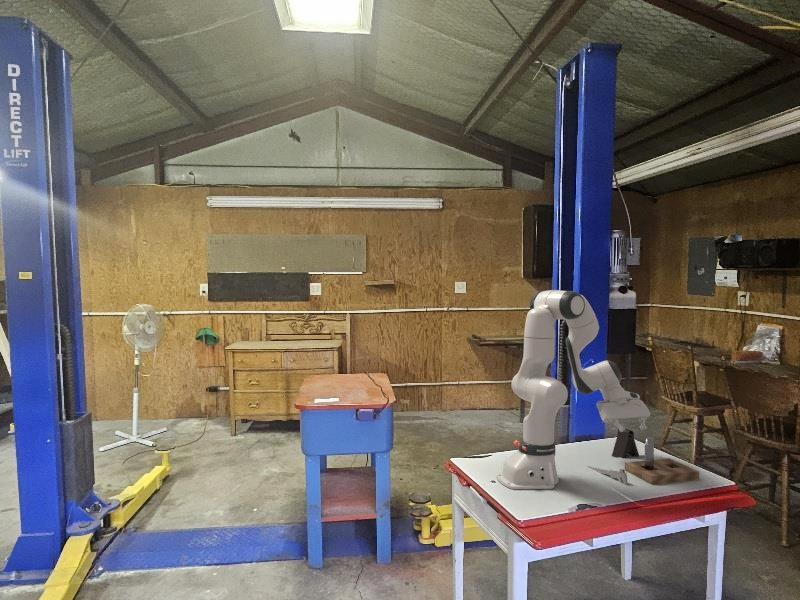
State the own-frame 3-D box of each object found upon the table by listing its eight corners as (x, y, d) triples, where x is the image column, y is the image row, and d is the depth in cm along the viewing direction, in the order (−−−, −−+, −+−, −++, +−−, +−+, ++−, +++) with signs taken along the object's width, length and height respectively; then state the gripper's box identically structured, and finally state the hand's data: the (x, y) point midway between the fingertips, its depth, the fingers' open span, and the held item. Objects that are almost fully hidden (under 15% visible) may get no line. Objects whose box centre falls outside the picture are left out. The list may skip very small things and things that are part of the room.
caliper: (627, 488, 167) (627, 470, 167) (625, 488, 166) (625, 470, 166) (586, 468, 186) (586, 452, 186) (584, 468, 186) (584, 452, 186)
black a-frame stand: (629, 453, 201) (629, 426, 201) (639, 458, 196) (639, 429, 196) (611, 456, 199) (611, 427, 199) (622, 460, 193) (622, 431, 193)
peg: (648, 477, 173) (648, 439, 172) (642, 474, 175) (642, 437, 175) (655, 477, 173) (655, 439, 173) (649, 474, 176) (649, 436, 176)
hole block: (651, 487, 166) (651, 476, 166) (624, 472, 180) (624, 462, 180) (699, 482, 171) (699, 471, 171) (669, 468, 184) (669, 458, 184)
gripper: (597, 396, 187) (613, 428, 178) (642, 394, 192) (660, 424, 182) (590, 405, 192) (606, 436, 182) (634, 402, 196) (651, 432, 187)
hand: (633, 430), depth 182 cm, fingers open, 8 cm apart
